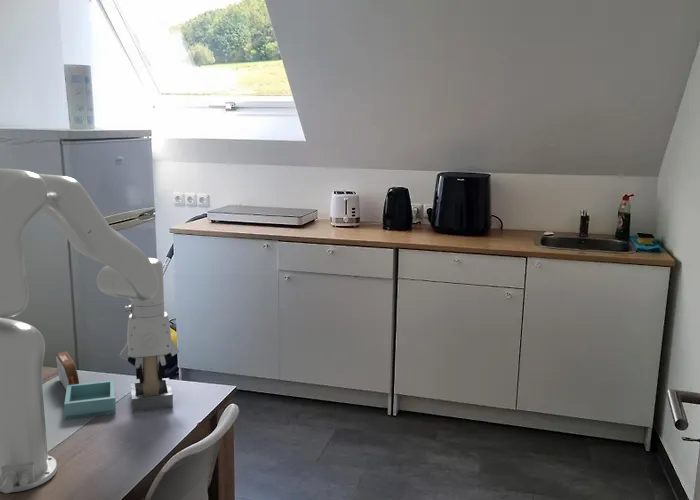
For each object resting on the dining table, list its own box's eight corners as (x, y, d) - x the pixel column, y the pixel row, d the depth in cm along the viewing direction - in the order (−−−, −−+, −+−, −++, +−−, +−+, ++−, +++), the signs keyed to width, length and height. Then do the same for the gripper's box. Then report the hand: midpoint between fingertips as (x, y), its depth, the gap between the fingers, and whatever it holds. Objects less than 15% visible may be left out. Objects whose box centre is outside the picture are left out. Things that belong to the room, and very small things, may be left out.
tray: (115, 413, 154) (114, 398, 153) (65, 419, 150) (64, 403, 149) (115, 394, 164) (114, 379, 163) (68, 400, 160) (67, 385, 159)
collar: (173, 407, 158) (172, 394, 157) (132, 412, 155) (131, 399, 154) (169, 390, 167) (168, 377, 167) (131, 395, 164) (130, 382, 163)
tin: (81, 396, 163) (79, 364, 161) (67, 399, 161) (65, 367, 159) (68, 375, 175) (66, 346, 173) (55, 378, 173) (53, 348, 171)
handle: (135, 401, 161) (132, 344, 158) (159, 394, 165) (157, 338, 162) (143, 408, 157) (140, 349, 154) (168, 401, 161) (166, 344, 158)
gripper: (111, 316, 150) (115, 390, 154) (185, 311, 155) (187, 382, 159) (111, 307, 157) (114, 378, 160) (182, 302, 162) (184, 370, 166)
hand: (150, 379), depth 160 cm, fingers closed on handle, 4 cm apart
